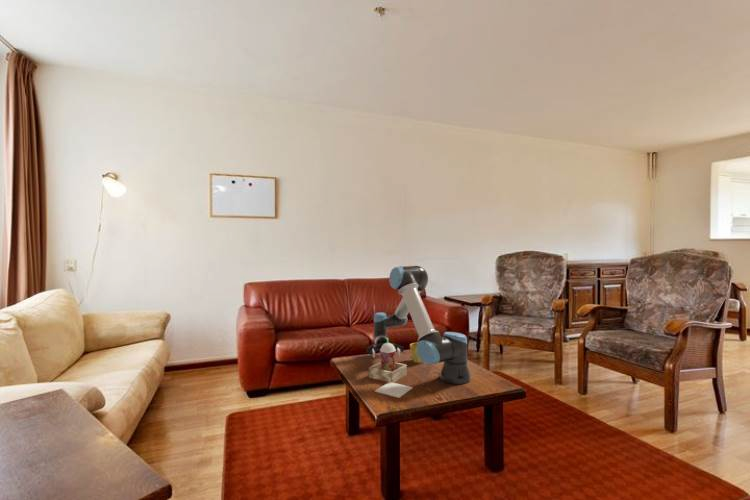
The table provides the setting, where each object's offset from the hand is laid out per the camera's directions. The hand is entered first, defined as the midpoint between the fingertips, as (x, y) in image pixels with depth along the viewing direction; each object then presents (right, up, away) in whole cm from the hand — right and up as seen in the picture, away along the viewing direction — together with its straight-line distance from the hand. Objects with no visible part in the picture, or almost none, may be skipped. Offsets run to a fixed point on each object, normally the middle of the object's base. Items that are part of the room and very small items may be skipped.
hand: (387, 354), depth 194 cm
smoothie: (+1, -11, -1) cm, 11 cm away
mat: (+3, -11, -19) cm, 22 cm away
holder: (+1, -11, -1) cm, 11 cm away
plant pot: (+19, -10, +22) cm, 31 cm away
